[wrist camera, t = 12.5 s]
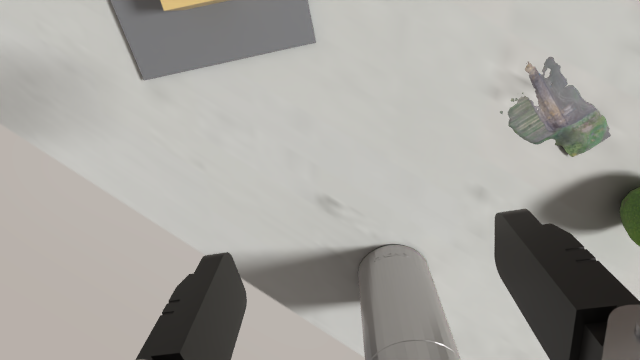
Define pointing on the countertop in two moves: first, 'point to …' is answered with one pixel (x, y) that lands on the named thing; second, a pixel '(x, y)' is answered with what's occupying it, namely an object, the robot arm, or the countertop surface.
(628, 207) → the avocado
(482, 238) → the countertop surface
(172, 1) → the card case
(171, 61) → the mat
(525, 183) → the countertop surface
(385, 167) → the countertop surface
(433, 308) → the robot arm
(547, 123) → the grey-green jagged piece
